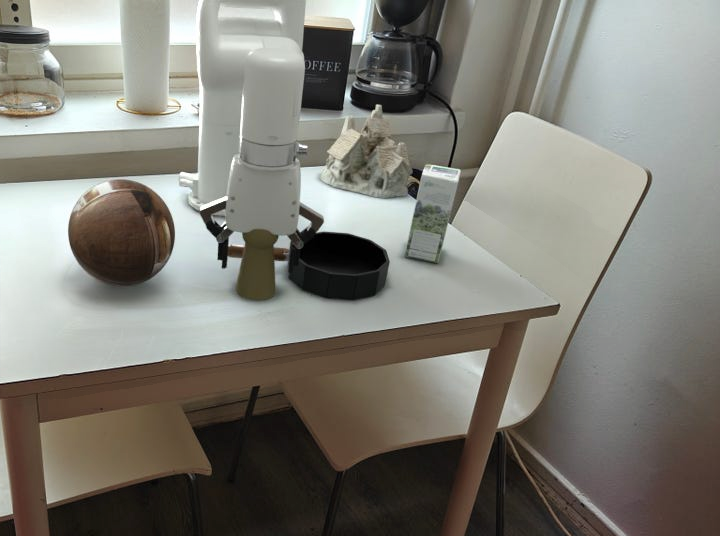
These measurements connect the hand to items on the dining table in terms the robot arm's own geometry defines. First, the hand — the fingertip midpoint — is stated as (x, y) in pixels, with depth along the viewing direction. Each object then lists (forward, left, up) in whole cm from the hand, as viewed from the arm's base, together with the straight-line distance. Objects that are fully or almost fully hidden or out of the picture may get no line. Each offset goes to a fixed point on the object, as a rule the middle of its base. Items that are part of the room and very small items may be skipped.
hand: (257, 266), depth 104 cm
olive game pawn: (0, 0, -4) cm, 4 cm away
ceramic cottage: (+4, +53, -4) cm, 53 cm away
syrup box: (+21, +25, -4) cm, 33 cm away
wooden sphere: (-18, -7, -4) cm, 20 cm away
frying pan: (+5, +9, -4) cm, 11 cm away
